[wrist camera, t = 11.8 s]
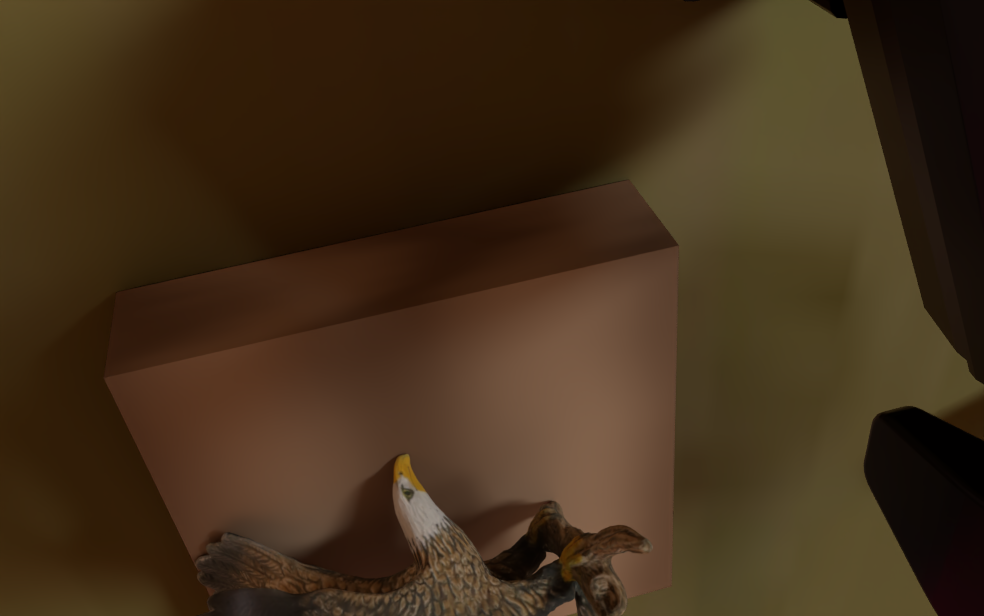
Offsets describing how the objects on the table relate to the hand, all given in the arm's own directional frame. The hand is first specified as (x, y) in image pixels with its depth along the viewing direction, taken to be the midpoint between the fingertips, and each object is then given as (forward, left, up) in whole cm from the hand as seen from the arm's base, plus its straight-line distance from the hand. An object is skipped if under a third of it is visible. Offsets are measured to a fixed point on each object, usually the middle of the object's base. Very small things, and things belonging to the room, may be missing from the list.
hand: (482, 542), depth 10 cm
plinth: (0, +9, -12) cm, 15 cm away
